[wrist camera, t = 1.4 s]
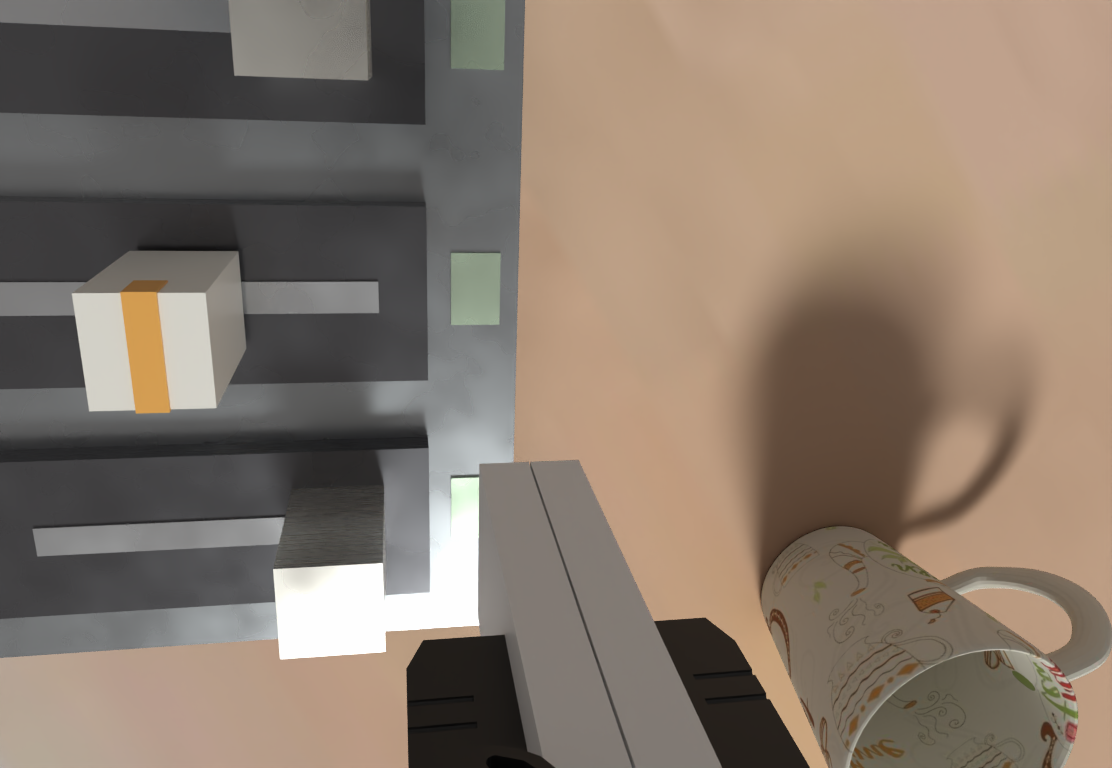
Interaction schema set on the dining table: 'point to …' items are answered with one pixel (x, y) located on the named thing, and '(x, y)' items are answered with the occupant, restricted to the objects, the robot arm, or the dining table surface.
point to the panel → (260, 316)
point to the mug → (924, 658)
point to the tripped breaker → (161, 330)
